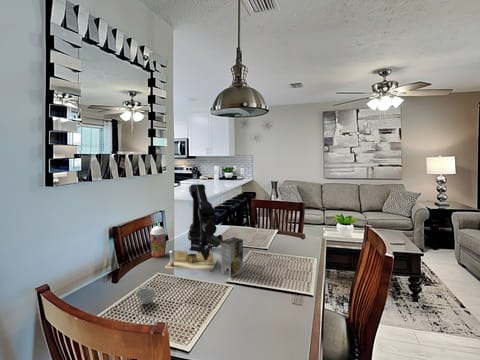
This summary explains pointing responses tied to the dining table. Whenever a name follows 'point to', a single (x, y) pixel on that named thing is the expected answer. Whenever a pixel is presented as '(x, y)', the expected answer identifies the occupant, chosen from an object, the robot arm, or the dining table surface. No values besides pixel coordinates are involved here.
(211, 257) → the loose leaf
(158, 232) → the smoothie
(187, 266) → the mount board
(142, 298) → the grey head sculpture
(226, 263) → the coffee box
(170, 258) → the pin
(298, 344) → the dining table surface
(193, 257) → the hinge base
